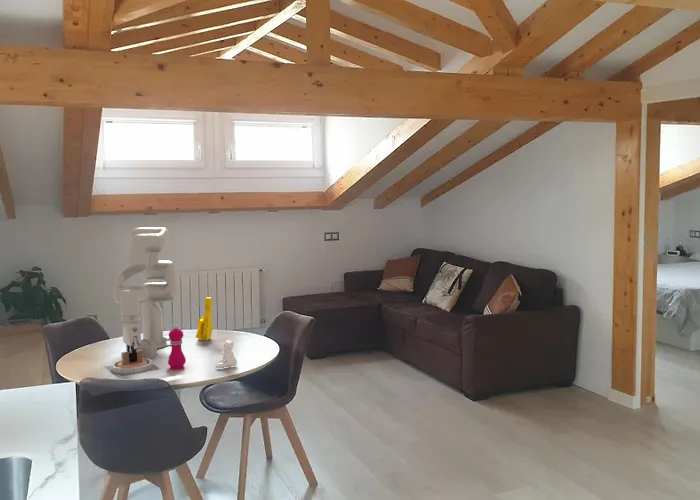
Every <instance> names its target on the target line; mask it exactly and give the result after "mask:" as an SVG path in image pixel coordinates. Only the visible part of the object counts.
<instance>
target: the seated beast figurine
mask: <svg viewBox="0 0 700 500" xmlns="http://www.w3.org/2000/svg"><path fill="white" fill-rule="evenodd" d="M234 344H235V341H234V340H229V339H227V340H225V343H224V344H223V347H222V349H223V354H222V359H221V360H219V362H218V363H217V364H215V369H216V368H224V367H231V366H235V365H236V366H237V364H238V361H237V358H236V357H235V355H234V351H233V348H234ZM236 366H235V367H236Z"/></svg>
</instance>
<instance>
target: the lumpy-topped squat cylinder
mask: <svg viewBox="0 0 700 500" xmlns="http://www.w3.org/2000/svg"><path fill="white" fill-rule="evenodd" d="M133 345H134V344H133ZM137 345H138V344H137ZM137 350H142V358H147V359H151V360H152V359H153V358H155V357H157V355H158V349H157V343H156V341H153V340H152V339H148V340H147V339H143V338H141V345H138V349H137Z"/></svg>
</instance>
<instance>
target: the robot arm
mask: <svg viewBox="0 0 700 500" xmlns="http://www.w3.org/2000/svg"><path fill="white" fill-rule="evenodd" d="M130 232H131V233H130V237H131V239H130V248H129V255H128V263H127V265H125V266H124V267H123V268H122V269H121V270H120V271H119V272H118V274H117V275H116V277H115V279H114V284H113V285H114V286H113V292H112V298H113V301H114V302H115V303H116V304H119V305H120V323H121V324H122V341H123V343H124V344H125V349H126V351H125V352H128V351H130V353H129V362H136V361H137V349H138V345H141V340H142V339H147V340H148V339H152V340H153V341H156V343H157V350H158V349H163V348H165V347H167V345H168V343H167V342H168V341H169V342H170V341H171V339H170V338H169V335H168V336H165V335H164V325H163V324H164V323H163V322H164V321H163V320H164V319H163V318H164V317H163V316H164V315H163V310H162V307H161V306H160V305H159V303H172V302H174V301H176V299H177V296H178V289H177V288H178V286H177V272H176V265H175V263H174V262H173V261H171V260H160V253H162V252H164V250H165V249H166V247H167V246H168V244H169V242H170V238H171V235H170V231H169V230H168V228H167V227H147V226H146V227H144V226H143V227H135V228H133V229H132V230H131V231H130ZM140 273H141V277H142V278H143V280H146V281H165V282H146V283H143V284H142V285H136V286H135V285H124V284H125V282H126V281H127V280H128V279H129V278H131V277H134V276H136V275H138V274H140ZM123 285H124V286H123ZM140 304H141V312H140ZM140 313H141V315H140ZM140 316H141V317H140ZM141 318H142V333H141V327H140V326H141V325H140V321H141ZM141 334H142V336H141ZM133 344H134V345H133ZM137 344H138V345H137Z"/></svg>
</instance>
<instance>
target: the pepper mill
mask: <svg viewBox="0 0 700 500" xmlns="http://www.w3.org/2000/svg"><path fill="white" fill-rule="evenodd" d="M168 337H169V338H170V339H171V340H170V341H169V342H170V343H169V344H170V346H171V350H170V354H169V356H168V359H167V364H168V366H169V370H171V371H181V370H184V369H185V368H186V367H185V363H186V360H187V359H186V356H185V355H184V352H183V350H182V344H183V338H184V331H183V330H182V329H180V328H179V326H178V325H177V324H175V325H174V326H173V329H171V330H170V331H169V332H168Z"/></svg>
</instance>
